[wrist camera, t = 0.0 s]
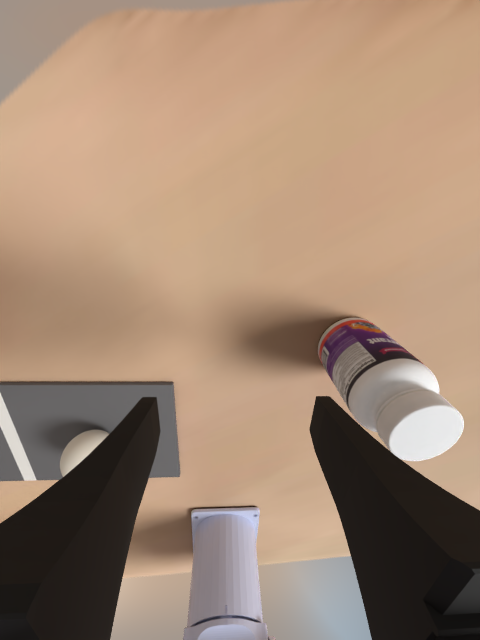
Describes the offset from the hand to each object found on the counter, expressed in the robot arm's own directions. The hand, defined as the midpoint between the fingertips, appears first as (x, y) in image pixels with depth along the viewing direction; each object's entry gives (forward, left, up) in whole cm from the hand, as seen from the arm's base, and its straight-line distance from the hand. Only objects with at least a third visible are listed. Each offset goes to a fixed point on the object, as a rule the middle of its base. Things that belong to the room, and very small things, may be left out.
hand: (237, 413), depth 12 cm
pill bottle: (-2, -10, -10) cm, 14 cm away
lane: (-12, +18, -10) cm, 23 cm away
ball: (-12, +12, -10) cm, 19 cm away
